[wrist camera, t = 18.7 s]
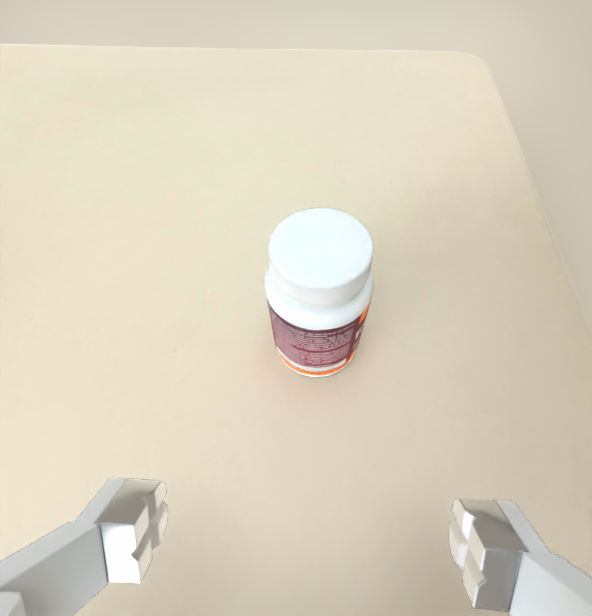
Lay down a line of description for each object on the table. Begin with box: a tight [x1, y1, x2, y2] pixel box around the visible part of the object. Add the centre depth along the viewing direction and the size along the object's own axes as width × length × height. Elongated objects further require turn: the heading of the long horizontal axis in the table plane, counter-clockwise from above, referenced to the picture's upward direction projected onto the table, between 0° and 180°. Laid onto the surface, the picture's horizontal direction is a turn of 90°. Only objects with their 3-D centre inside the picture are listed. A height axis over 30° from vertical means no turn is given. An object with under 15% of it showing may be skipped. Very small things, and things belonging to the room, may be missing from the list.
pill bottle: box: [265, 208, 374, 377], centre depth 17 cm, size 5×5×8 cm
